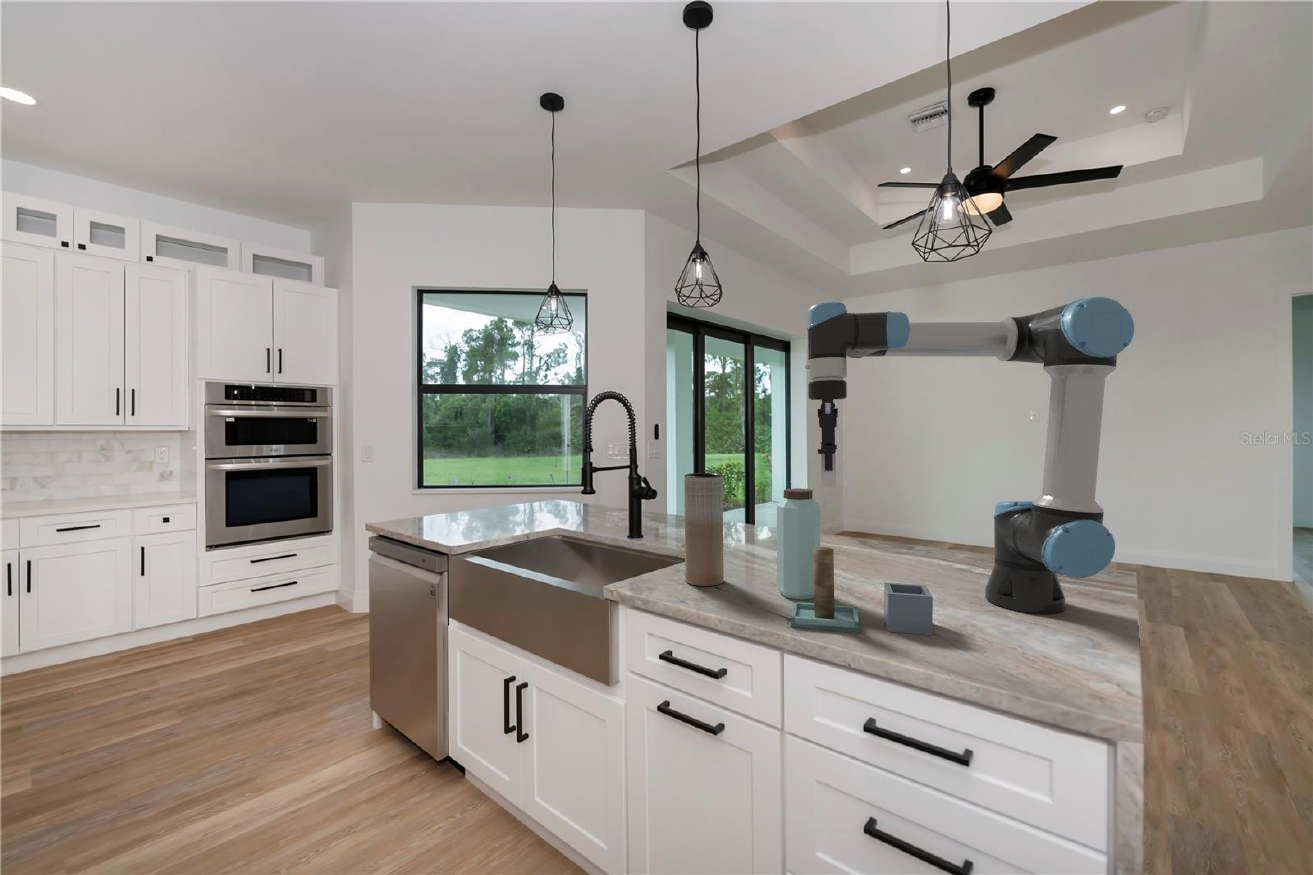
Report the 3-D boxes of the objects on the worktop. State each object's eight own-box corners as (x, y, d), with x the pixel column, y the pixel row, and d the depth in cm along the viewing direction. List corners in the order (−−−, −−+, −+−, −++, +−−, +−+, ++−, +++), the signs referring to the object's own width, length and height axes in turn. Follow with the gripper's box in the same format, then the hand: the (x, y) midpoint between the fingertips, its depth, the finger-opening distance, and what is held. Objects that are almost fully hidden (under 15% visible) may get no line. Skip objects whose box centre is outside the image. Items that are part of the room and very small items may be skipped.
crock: (925, 621, 118) (925, 585, 117) (932, 635, 110) (932, 596, 110) (884, 617, 120) (884, 582, 120) (888, 631, 112) (888, 593, 112)
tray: (856, 616, 121) (856, 606, 121) (859, 633, 111) (859, 623, 111) (793, 610, 125) (793, 601, 125) (790, 627, 115) (790, 617, 115)
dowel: (834, 614, 119) (833, 547, 119) (834, 620, 116) (833, 551, 116) (814, 612, 121) (813, 546, 121) (814, 618, 117) (813, 550, 117)
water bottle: (822, 601, 131) (821, 493, 130) (777, 599, 133) (776, 492, 132) (818, 589, 140) (818, 487, 140) (777, 587, 142) (776, 487, 142)
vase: (682, 576, 153) (681, 473, 152) (719, 575, 154) (718, 472, 153) (688, 587, 143) (687, 477, 142) (727, 586, 144) (726, 476, 143)
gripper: (809, 384, 130) (810, 477, 131) (806, 376, 106) (807, 490, 107) (844, 382, 128) (845, 477, 129) (849, 375, 104) (850, 491, 105)
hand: (828, 483), depth 118 cm, fingers open, 13 cm apart
